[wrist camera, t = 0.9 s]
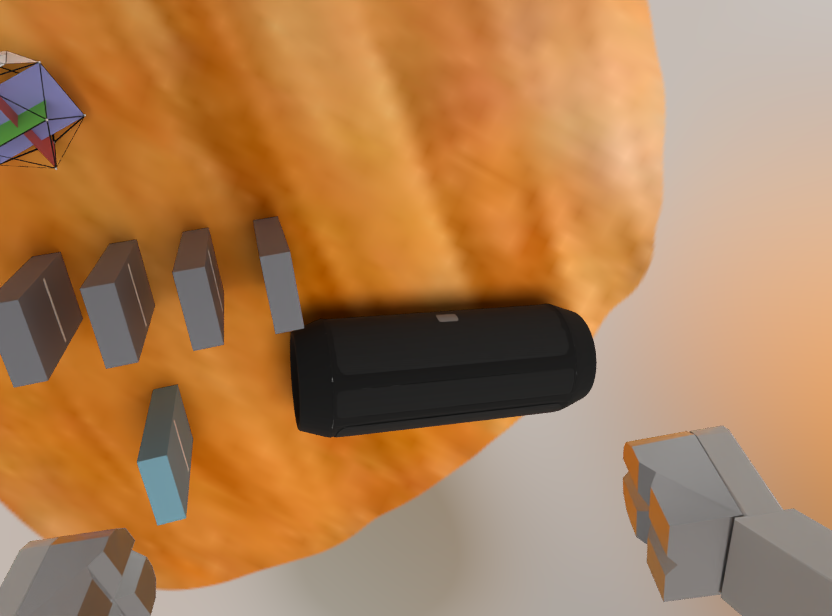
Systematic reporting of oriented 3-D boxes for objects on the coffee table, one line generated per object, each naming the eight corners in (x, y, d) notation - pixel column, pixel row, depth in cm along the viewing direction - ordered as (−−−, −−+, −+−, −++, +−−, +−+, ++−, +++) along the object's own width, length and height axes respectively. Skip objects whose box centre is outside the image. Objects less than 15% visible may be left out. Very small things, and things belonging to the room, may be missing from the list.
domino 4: (198, 297, 52) (192, 350, 42) (182, 232, 50) (171, 272, 40) (224, 292, 53) (224, 344, 43) (208, 227, 51) (205, 266, 41)
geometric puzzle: (118, 157, 45) (49, 99, 37) (32, 207, 45) (-55, 158, 37) (76, 81, 46) (1, 9, 39) (-8, 128, 46) (-101, 65, 38)
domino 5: (266, 284, 53) (275, 334, 44) (252, 220, 51) (259, 257, 41) (290, 280, 54) (304, 328, 44) (277, 216, 52) (290, 251, 42)
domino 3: (169, 444, 56) (157, 525, 46) (153, 389, 54) (136, 462, 44) (193, 439, 56) (186, 518, 47) (177, 384, 54) (167, 455, 44)
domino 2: (128, 310, 51) (105, 368, 41) (109, 244, 49) (79, 289, 39) (155, 305, 51) (138, 362, 42) (136, 239, 49) (114, 282, 39)
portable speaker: (553, 287, 61) (609, 325, 52) (542, 378, 65) (593, 429, 56) (287, 303, 55) (299, 350, 46) (291, 404, 58) (302, 466, 49)
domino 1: (55, 323, 50) (13, 387, 40) (31, 256, 48) (-19, 306, 38) (83, 318, 50) (48, 380, 40) (60, 251, 48) (18, 299, 38)
